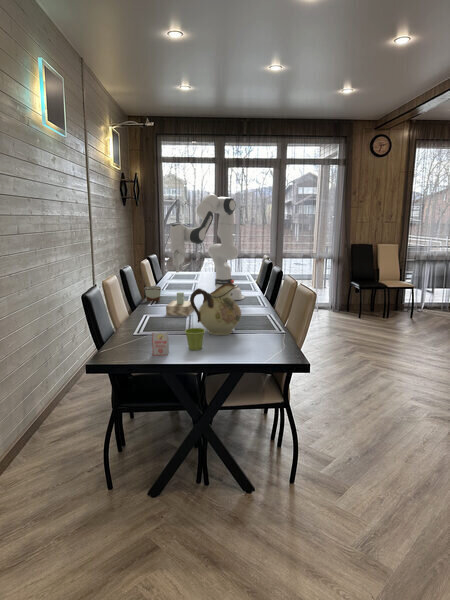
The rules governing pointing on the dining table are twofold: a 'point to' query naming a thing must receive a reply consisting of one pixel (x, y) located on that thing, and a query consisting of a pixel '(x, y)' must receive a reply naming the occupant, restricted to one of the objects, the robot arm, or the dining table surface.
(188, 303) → the birch riser block
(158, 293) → the food container
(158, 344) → the white printed box
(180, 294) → the sage block
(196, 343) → the plant pot
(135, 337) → the dining table surface
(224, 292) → the pitcher
